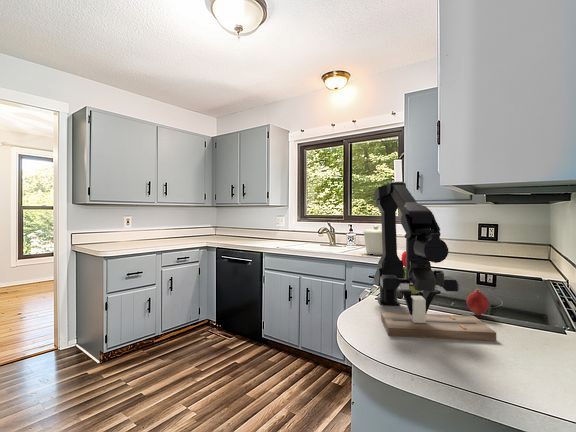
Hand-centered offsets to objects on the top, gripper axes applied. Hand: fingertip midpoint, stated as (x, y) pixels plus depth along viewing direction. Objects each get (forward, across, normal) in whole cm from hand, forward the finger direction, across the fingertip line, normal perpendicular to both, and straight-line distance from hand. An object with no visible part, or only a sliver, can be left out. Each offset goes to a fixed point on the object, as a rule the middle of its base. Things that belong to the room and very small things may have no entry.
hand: (417, 314), depth 82 cm
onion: (+4, +20, +13) cm, 25 cm away
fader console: (+4, +4, 0) cm, 5 cm away
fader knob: (+1, 0, 0) cm, 1 cm away
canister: (+4, +7, +143) cm, 143 cm away
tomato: (+4, +20, +90) cm, 92 cm away
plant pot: (+4, +7, +38) cm, 39 cm away
